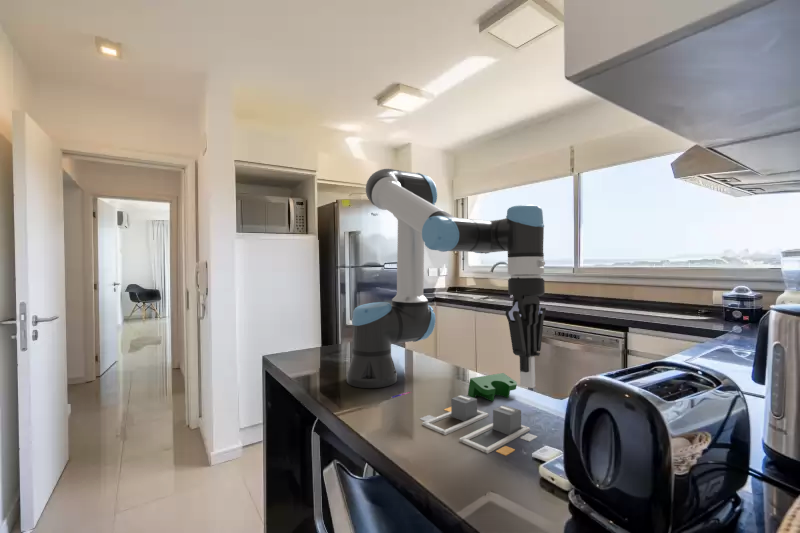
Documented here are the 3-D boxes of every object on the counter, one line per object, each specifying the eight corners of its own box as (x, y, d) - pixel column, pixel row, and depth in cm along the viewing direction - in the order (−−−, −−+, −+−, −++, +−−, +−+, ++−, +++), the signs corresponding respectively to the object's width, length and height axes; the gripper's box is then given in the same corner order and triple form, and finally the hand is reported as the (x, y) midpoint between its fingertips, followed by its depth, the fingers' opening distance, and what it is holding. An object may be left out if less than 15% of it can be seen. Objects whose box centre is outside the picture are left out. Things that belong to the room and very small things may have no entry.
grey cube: (493, 429, 77) (492, 408, 77) (504, 423, 79) (504, 403, 79) (510, 435, 74) (510, 413, 74) (521, 430, 76) (521, 408, 76)
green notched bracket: (485, 421, 94) (479, 394, 91) (471, 408, 99) (464, 381, 96) (521, 398, 98) (516, 370, 95) (506, 386, 103) (501, 359, 100)
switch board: (407, 425, 81) (407, 418, 81) (460, 405, 93) (460, 398, 93) (503, 469, 63) (503, 460, 63) (554, 437, 75) (554, 429, 75)
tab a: (451, 416, 83) (451, 397, 83) (462, 412, 86) (462, 393, 86) (465, 422, 80) (465, 401, 80) (477, 417, 83) (477, 397, 83)
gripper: (525, 277, 75) (527, 397, 74) (556, 276, 83) (558, 383, 83) (493, 277, 80) (495, 388, 80) (525, 276, 89) (527, 377, 88)
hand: (527, 386), depth 81 cm, fingers closed
